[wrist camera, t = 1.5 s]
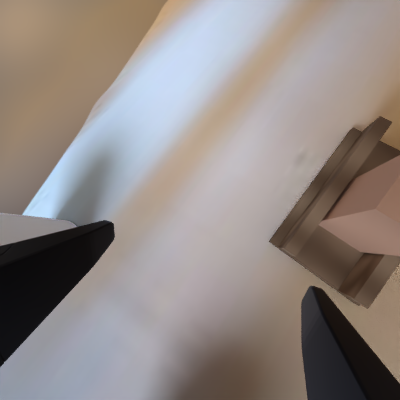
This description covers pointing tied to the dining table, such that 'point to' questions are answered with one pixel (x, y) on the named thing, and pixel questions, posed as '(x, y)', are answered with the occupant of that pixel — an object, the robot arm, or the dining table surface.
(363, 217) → the block
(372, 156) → the chute
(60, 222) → the can
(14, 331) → the robot arm
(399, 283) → the dining table surface
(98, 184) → the dining table surface
